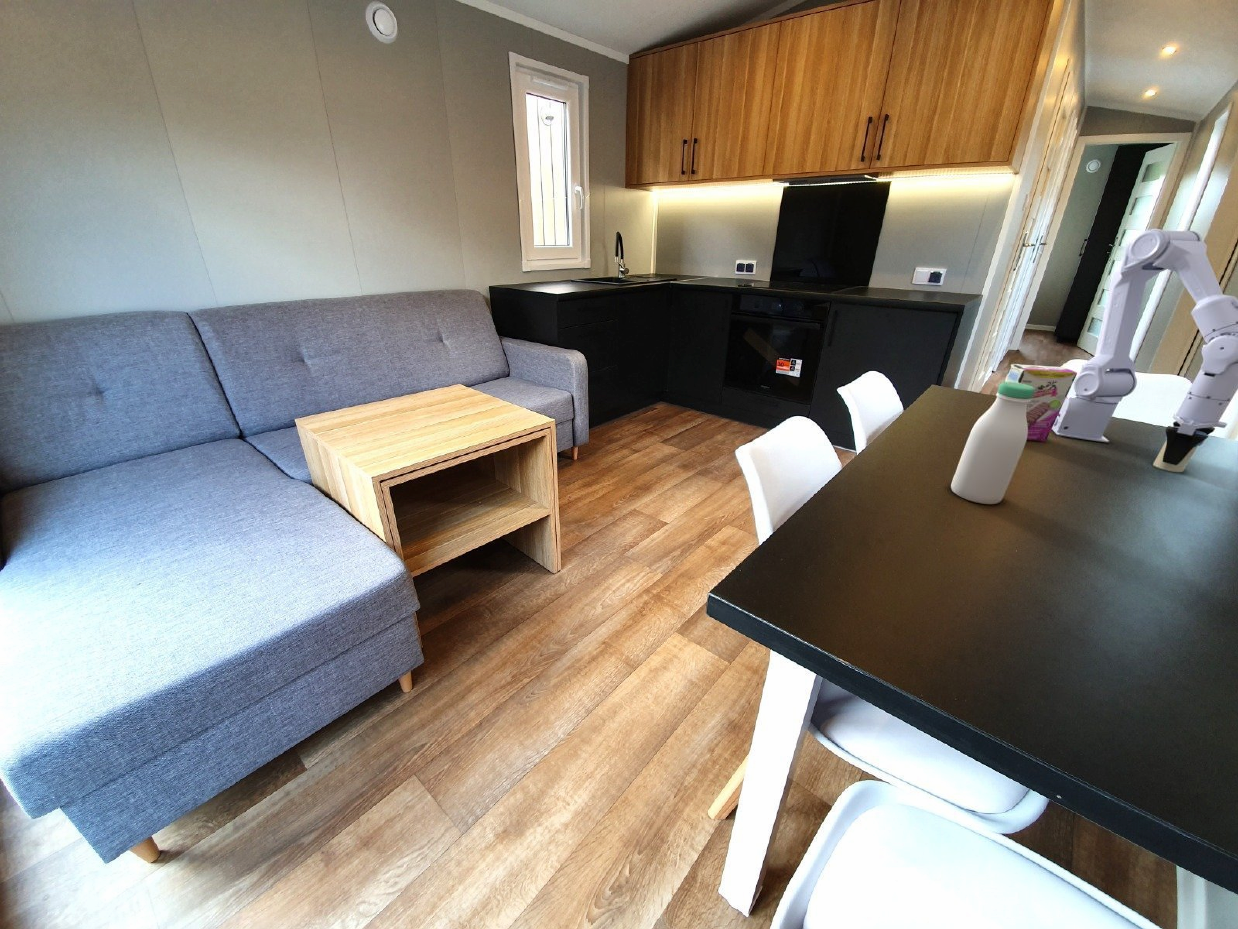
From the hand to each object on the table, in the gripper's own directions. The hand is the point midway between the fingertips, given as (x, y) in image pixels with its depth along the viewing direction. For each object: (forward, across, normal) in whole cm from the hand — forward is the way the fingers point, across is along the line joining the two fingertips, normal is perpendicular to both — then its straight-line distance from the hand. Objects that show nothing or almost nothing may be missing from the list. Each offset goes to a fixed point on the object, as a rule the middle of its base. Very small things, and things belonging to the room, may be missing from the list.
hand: (1172, 460), depth 99 cm
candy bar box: (+2, -8, +24) cm, 26 cm away
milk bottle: (+2, -49, +17) cm, 52 cm away
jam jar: (+2, 0, 0) cm, 2 cm away
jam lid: (-6, 0, 0) cm, 6 cm away
